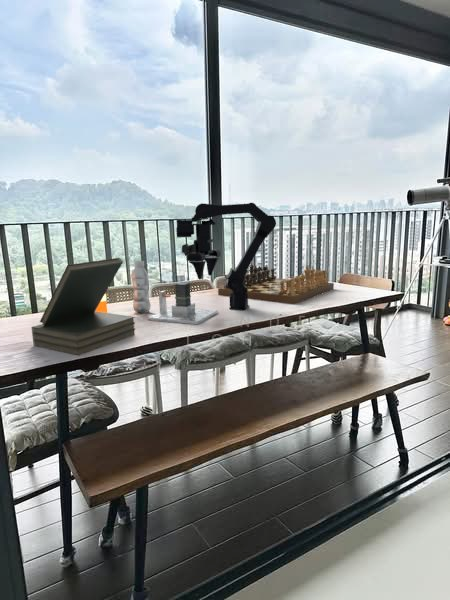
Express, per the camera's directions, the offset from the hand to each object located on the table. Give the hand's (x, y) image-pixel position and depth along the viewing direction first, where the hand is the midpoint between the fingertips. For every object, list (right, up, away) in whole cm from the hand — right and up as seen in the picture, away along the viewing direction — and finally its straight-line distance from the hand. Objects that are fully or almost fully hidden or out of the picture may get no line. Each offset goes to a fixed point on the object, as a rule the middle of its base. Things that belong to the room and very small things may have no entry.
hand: (204, 277), depth 164 cm
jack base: (-7, -15, -8) cm, 19 cm away
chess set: (+33, -6, +36) cm, 49 cm away
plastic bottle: (-25, -14, 0) cm, 28 cm away
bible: (-35, -22, -35) cm, 54 cm away
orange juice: (-43, -15, -4) cm, 46 cm away
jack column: (-8, -11, -9) cm, 16 cm away
